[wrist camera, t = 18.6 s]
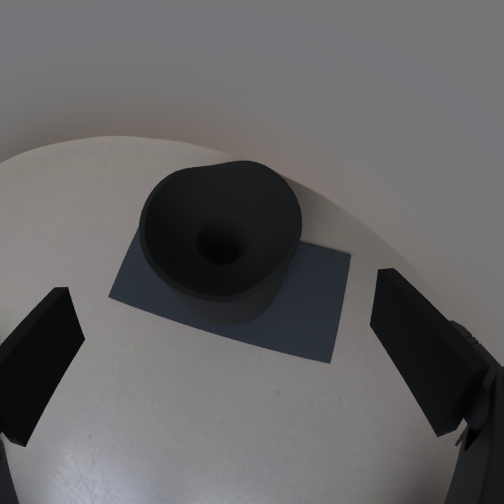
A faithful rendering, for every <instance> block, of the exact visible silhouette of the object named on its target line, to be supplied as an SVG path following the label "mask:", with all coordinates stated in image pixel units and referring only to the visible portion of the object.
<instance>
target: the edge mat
mask: <svg viewBox="0 0 504 504" xmlns="http://www.w3.org/2000/svg"><path fill="white" fill-rule="evenodd" d="M350 257H351V255H349V254H345V253H341V252H337V251H334V250H330V249H326V248H322V247H319V246H315V245H311V244H307V243H303V242H299V244H298V247H297V250H296V252H295V254H294V257H293V259H292V262H291V264H290V266H289V269H288V271H287V273H286V276H285V278H284V280H283V283H282V285H281V287H280V290H279V292H278V294H277V296H276V298H275V299H274V301H273V302H272V304H271V305H270V306H269V308H268V309H267V310H266V311H265V312H264V313H263V314H262V315H260V316H259V317H257V318H256V319H254V320H252V321H250V322H247V323H244V324H241V325H236V326H221V325H216V324H212V323H209V322H207V321H205V320H203V319H201V318H200V317H198V316H197V315H195V314H194V313H193V312H192V311H191V310H190V309H189V308H188V307H186V306H185V305H184V304H183V303H182V302H181V301H180V300H179V298H178V297H177V296H176V295H175V294H174V293H173V292H172V291H171V290H170V289H169V288H168V287H167V286H166V285H165V283H164V282H163V281H162V280H161V279H160V278H159V277H158V276H157V275H156V273H155V272H154V271H153V270H152V268H151V267H150V266H149V264H148V262H147V261H146V259H145V257H144V254H143V252H142V249H141V245H140V240H139V227H138V229H137V232H136V234H135V236H134V238H133V240H132V242H131V245H130V247H129V249H128V251H127V253H126V256H125V258H124V260H123V263H122V265H121V267H120V270H119V272H118V274H117V277H116V279H115V282H114V284H113V286H112V289H111V291H110V294H109V296H108V297H109V298H112V299H115V300H117V301H120V302H122V303H125V304H128V305H130V306H133V307H136V308H139V309H141V310H144V311H147V312H150V313H153V314H155V315H158V316H161V317H164V318H167V319H170V320H173V321H176V322H179V323H182V324H185V325H188V326H191V327H194V328H198V329H201V330H204V331H207V332H210V333H214V334H217V335H220V336H224V337H227V338H230V339H234V340H237V341H241V342H245V343H248V344H252V345H255V346H259V347H263V348H267V349H270V350H274V351H278V352H282V353H286V354H290V355H294V356H298V357H303V358H307V359H311V360H316V361H320V362H325V363H330V361H331V357H332V352H333V348H334V344H335V339H336V334H337V329H338V325H339V320H340V315H341V309H342V304H343V299H344V293H345V288H346V282H347V276H348V270H349V263H350Z"/></svg>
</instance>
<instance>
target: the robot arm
mask: <svg viewBox="0 0 504 504" xmlns="http://www.w3.org/2000/svg"><path fill="white" fill-rule="evenodd" d="M370 326H371V328H372V329H373V331H374V333H375V334H376V336H377V337H378V339H379V340H380V342H381V343H382V345H383V347H384V348H385V350H386V351H387V353H388V355H389V356H390V358H391V359H392V361H393V363H394V364H395V366H396V367H397V369H398V371H399V372H400V374H401V375H402V377H403V379H404V380H405V382H406V384H407V385H408V387H409V389H410V390H411V392H412V394H413V395H414V397H415V399H416V400H417V402H418V404H419V406H420V407H421V409H422V411H423V412H424V414H425V416H426V418H427V419H428V421H429V423H430V425H431V426H432V428H433V430H434V432H435V433H436V435H437V437H440V436H442V435H445V434H447V433H450V432H452V431H454V430H456V429H457V427H458V426H459V424H460V423H461V421H462V419H463V418H464V419H465V421H466V422H467V424H468V425H467V427H466V428H465V430H464V431H463V433H462V434H461V436H460V437H459V439H458V440H457V442H456V444H455V446H458V445H459V443H460V442H461V441H462V443H461V448H460V452H459V456H458V460H457V464H456V467H455V471H454V474H453V478H452V481H451V484H450V487H449V490H448V493H447V496H446V499H445V502H444V504H504V366H503V367H502V366H501V365H500V364H499V363H498V362H497V361H496V360H495V359H494V358H493V356H491V354H490V353H489V352H488V351H487V350H486V349H485V348H484V347H483V346H482V345H481V344H479V342H478V341H477V340H476V339H475V337H472V334H471V333H470V332H469V331H468V330H466V328H465V327H463V326H462V325H460V324H458V323H456V322H455V321H453V320H452V321H448V320H447V319H446V318H445V317H444V316H443V315H442V314H441V313H440V312H439V311H438V310H437V309H436V308H435V307H434V306H433V305H432V304H431V303H430V302H429V301H428V300H427V299H426V298H425V297H424V296H423V295H422V294H421V293H420V292H419V291H418V290H417V289H416V288H415V287H414V286H412V285H411V284H410V283H409V282H408V281H407V280H406V279H405V278H404V277H403V276H402V275H401V274H400V273H399V272H398V271H396V270H395V269H394V268H389V269H378V274H377V282H376V289H375V296H374V303H373V309H372V315H371V321H370ZM84 340H85V338H84V335H83V332H82V329H81V327H80V324H79V321H78V318H77V315H76V312H75V309H74V306H73V302H72V299H71V296H70V293H69V289H68V287H55V288H54V289H53V290H52V291H51V292H50V293H49V294H48V295H47V296H46V297H45V298H44V299H43V300H42V301H41V302H40V303H39V304H38V305H37V306H36V307H35V308H34V309H33V310H32V311H31V312H30V313H29V314H28V315H27V316H26V317H25V319H24V320H23V321H22V322H21V323H20V324H19V325H18V326H17V327H16V328H15V329H14V331H13V332H12V333H11V334H10V335H9V336H8V337H7V338H6V340H5V341H4V342H3V343H2V344H1V345H0V434H1V432H3V433H4V434H5V436H6V437H7V438H8V439H9V441H10V442H12V443H15V444H17V445H20V446H23V447H26V445H27V443H28V441H29V439H30V437H31V435H32V433H33V431H34V429H35V427H36V425H37V423H38V421H39V419H40V417H41V415H42V413H43V411H44V409H45V408H46V406H47V404H48V402H49V400H50V398H51V397H52V395H53V393H54V391H55V389H56V388H57V386H58V384H59V382H60V381H61V379H62V377H63V375H64V374H65V372H66V370H67V368H68V367H69V365H70V363H71V362H72V360H73V358H74V357H75V355H76V353H77V352H78V350H79V349H80V347H81V345H82V344H83V342H84ZM0 504H19V501H18V498H17V495H16V492H15V488H14V485H13V482H12V478H11V474H10V470H9V466H8V462H7V458H6V453H5V449H4V444H3V442H2V440H1V439H0Z"/></svg>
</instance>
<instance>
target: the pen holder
mask: <svg viewBox="0 0 504 504" xmlns="http://www.w3.org/2000/svg"><path fill="white" fill-rule="evenodd" d="M301 230H302V215H301V210H300V206H299V203H298V201H297V198H296V196H295V194H294V192H293V191H292V189H291V188H290V186H289V185H288V184H287V182H286V181H285V180H284V179H283V178H282V177H281V176H280V175H279V174H277V173H276V172H275V171H274V170H272V169H270V168H268V167H267V166H265V165H262V164H260V163H257V162H252V161H233V162H227V163H222V164H216V165H210V166H201V167H192V168H186V169H182V170H179V171H176V172H174V173H172V174H170V175H168V176H167V177H165V178H164V179H163V180H162V181H160V182H159V184H158V185H157V186H156V187H155V188H154V189H153V191H152V192H151V193H150V195H149V197H148V198H147V200H146V202H145V204H144V207H143V210H142V212H141V217H140V221H139V240H140V245H141V249H142V252H143V254H144V257H145V259H146V261H147V262H148V264H149V266H150V267H151V268H152V270H153V271H154V272H155V273H156V275H157V276H158V277H159V278H160V279H161V280H162V281H163V282H164V283H165V285H166V286H167V287H168V288H169V289H170V290H171V291H172V292H173V293H174V294H175V295H176V296H177V297H178V298H179V300H180V301H181V302H182V303H183V304H184V305H185V306H186V307H188V308H189V309H190V310H191V311H192V312H193V313H194V314H195V315H197V316H198V317H200V318H201V319H203V320H205V321H207V322H209V323H212V324H216V325H221V326H236V325H241V324H244V323H247V322H250V321H252V320H254V319H256V318H257V317H259V316H260V315H262V314H263V313H264V312H265V311H266V310H267V309H268V308H269V306H270V305H271V304H272V302H273V301H274V299H275V298H276V296H277V294H278V292H279V290H280V287H281V285H282V283H283V280H284V278H285V276H286V273H287V271H288V269H289V266H290V264H291V262H292V259H293V257H294V254H295V252H296V250H297V247H298V244H299V241H300V237H301Z"/></svg>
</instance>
